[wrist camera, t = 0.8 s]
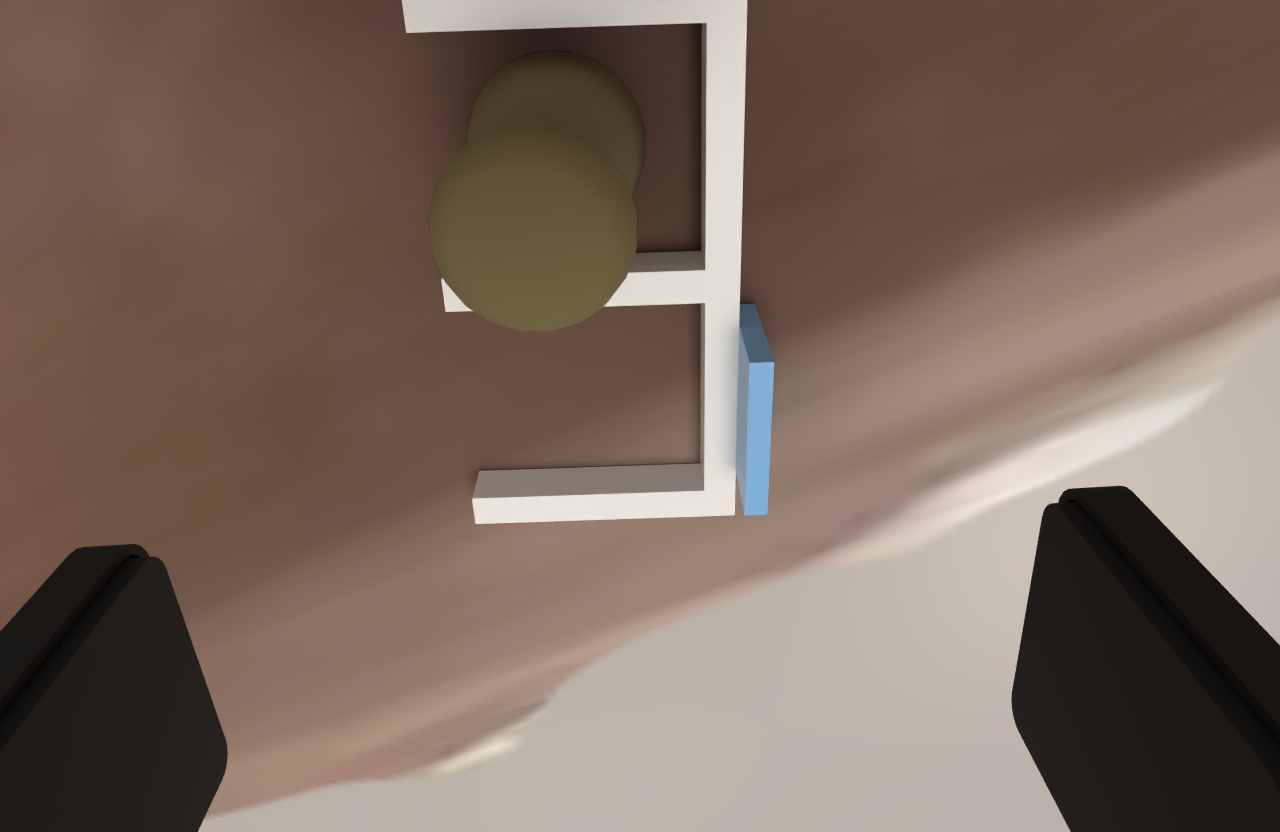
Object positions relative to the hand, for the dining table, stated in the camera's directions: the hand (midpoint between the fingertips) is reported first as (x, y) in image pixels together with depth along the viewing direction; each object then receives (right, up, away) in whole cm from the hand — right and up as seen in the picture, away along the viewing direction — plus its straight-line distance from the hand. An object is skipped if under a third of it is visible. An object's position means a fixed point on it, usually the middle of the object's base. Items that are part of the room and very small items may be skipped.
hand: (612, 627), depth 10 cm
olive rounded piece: (-3, +12, +21) cm, 25 cm away
